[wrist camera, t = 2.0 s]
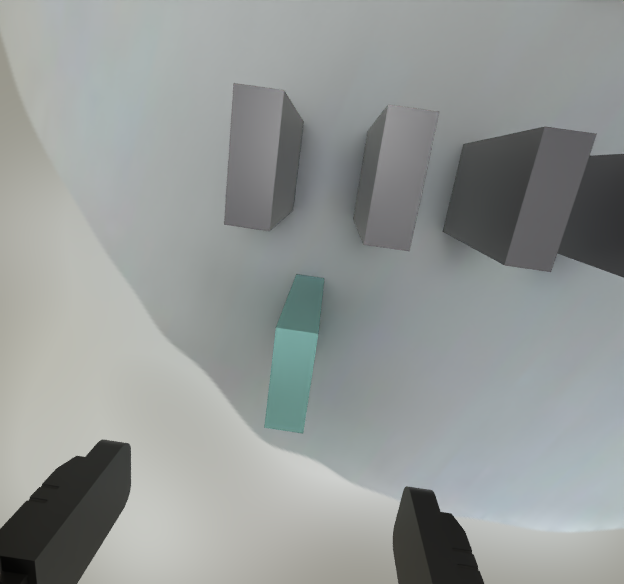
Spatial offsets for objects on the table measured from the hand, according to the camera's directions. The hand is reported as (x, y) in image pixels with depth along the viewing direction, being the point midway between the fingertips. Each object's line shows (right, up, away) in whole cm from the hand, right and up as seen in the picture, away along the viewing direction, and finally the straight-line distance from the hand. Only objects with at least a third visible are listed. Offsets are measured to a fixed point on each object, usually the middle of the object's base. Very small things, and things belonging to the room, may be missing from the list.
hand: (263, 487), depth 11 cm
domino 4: (+11, +12, +12) cm, 19 cm away
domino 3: (+5, +12, +12) cm, 18 cm away
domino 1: (0, +13, +12) cm, 18 cm away
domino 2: (+1, +4, +14) cm, 15 cm away
